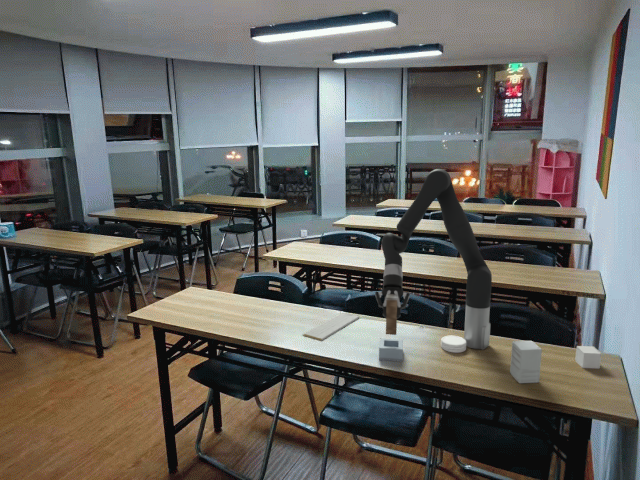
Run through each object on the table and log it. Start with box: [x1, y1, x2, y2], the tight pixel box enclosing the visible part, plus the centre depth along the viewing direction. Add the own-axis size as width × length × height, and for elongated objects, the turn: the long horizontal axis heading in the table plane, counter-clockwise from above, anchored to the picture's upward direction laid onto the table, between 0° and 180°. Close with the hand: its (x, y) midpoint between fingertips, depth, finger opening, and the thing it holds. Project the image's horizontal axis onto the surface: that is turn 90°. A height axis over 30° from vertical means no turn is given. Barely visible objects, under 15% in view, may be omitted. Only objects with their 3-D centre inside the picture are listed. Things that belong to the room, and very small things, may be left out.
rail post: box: [385, 294, 398, 336], centre depth 178 cm, size 4×4×15 cm
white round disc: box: [440, 334, 467, 354], centre depth 187 cm, size 10×10×4 cm
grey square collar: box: [378, 337, 404, 362], centre depth 181 cm, size 9×9×5 cm
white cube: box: [574, 345, 602, 369], centre depth 171 cm, size 6×6×6 cm
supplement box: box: [509, 340, 543, 384], centre depth 161 cm, size 7×7×13 cm
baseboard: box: [302, 310, 360, 341], centre depth 211 cm, size 31×3×12 cm
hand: (391, 317), depth 176 cm, fingers closed on rail post, 4 cm apart
